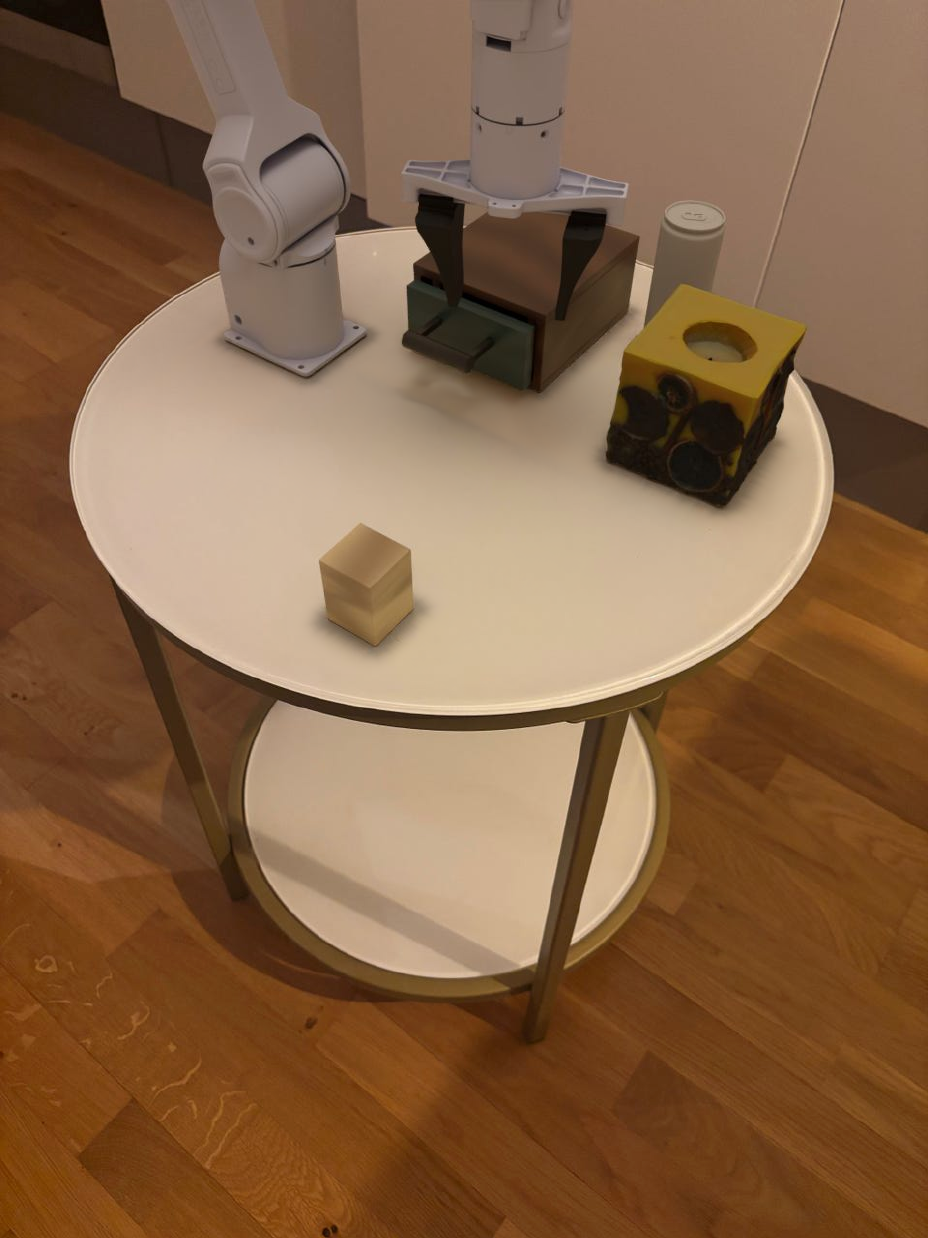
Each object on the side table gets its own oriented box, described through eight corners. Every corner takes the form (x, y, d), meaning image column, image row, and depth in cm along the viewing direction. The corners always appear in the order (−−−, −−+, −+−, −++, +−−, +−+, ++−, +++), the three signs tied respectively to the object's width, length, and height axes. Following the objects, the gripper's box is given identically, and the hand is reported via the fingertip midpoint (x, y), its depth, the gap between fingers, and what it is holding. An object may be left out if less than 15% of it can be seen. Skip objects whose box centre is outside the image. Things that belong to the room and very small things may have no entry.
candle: (657, 392, 79) (679, 279, 71) (776, 435, 75) (813, 322, 68) (599, 461, 73) (616, 347, 66) (725, 512, 70) (758, 397, 62)
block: (327, 618, 63) (318, 559, 59) (366, 581, 65) (360, 522, 61) (375, 647, 61) (369, 588, 57) (414, 608, 64) (411, 549, 59)
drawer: (492, 418, 75) (495, 360, 71) (376, 366, 79) (372, 308, 75) (608, 314, 84) (615, 257, 80) (498, 273, 89) (501, 217, 85)
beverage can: (695, 371, 81) (726, 233, 71) (637, 364, 81) (660, 226, 72) (698, 338, 84) (728, 202, 75) (642, 332, 84) (665, 196, 75)
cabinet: (539, 393, 79) (546, 315, 73) (415, 340, 83) (412, 263, 78) (628, 311, 86) (640, 235, 81) (510, 267, 91) (513, 192, 86)
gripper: (384, 121, 57) (395, 324, 68) (631, 146, 55) (603, 351, 66) (413, 74, 62) (419, 271, 72) (642, 96, 60) (614, 295, 70)
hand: (508, 306), depth 69 cm, fingers open, 7 cm apart
